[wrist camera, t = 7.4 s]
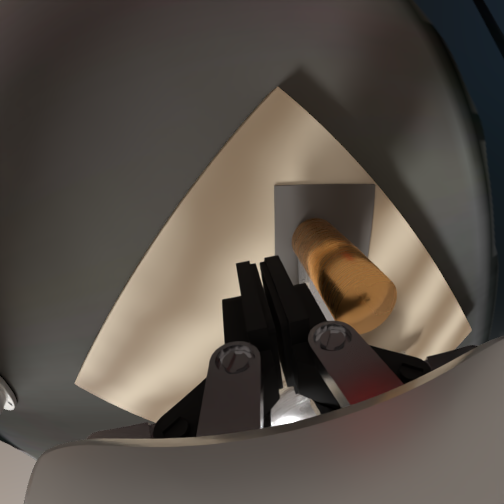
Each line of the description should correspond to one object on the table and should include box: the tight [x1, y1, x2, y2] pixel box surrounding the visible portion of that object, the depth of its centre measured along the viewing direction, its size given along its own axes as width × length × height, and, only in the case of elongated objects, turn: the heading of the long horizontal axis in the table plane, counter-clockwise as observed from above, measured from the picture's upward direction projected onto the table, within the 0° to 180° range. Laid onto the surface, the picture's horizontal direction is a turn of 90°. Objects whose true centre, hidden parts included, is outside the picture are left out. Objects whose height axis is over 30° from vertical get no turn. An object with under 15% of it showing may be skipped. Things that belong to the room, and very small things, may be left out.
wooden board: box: [75, 87, 472, 423], centre depth 20 cm, size 30×26×2 cm
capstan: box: [272, 218, 407, 426], centre depth 15 cm, size 22×17×6 cm
